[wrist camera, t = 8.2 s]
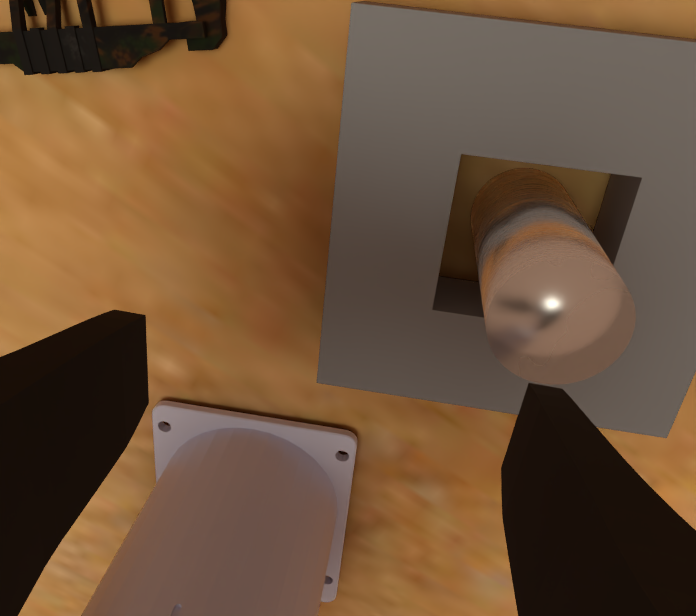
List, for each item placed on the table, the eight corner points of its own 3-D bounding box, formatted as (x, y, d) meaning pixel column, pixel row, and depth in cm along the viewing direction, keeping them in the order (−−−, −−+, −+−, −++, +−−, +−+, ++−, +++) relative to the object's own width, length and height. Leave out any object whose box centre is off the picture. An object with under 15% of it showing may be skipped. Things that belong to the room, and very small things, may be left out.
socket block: (642, 391, 21) (666, 438, 19) (328, 343, 22) (316, 383, 20) (778, 48, 16) (832, 57, 14) (362, 1, 17) (351, 2, 15)
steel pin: (556, 267, 20) (610, 394, 14) (462, 253, 20) (473, 372, 14) (582, 175, 18) (656, 269, 12) (481, 161, 18) (502, 248, 12)
